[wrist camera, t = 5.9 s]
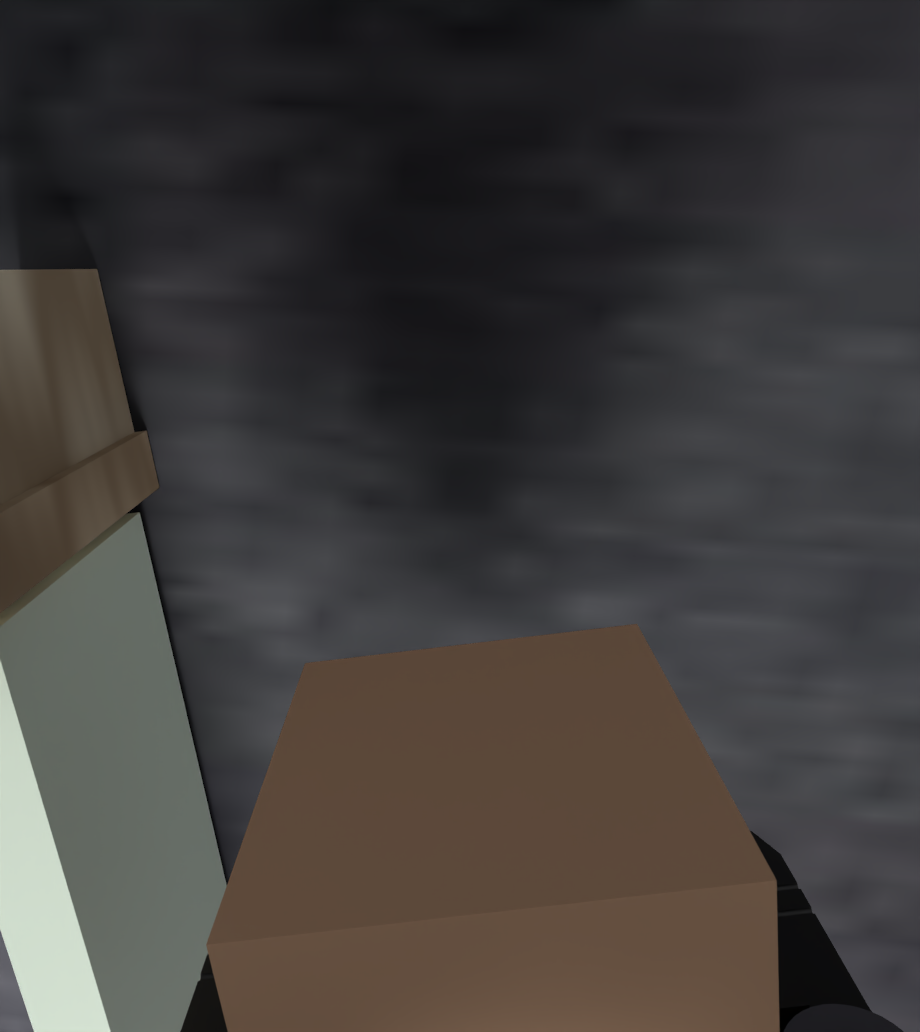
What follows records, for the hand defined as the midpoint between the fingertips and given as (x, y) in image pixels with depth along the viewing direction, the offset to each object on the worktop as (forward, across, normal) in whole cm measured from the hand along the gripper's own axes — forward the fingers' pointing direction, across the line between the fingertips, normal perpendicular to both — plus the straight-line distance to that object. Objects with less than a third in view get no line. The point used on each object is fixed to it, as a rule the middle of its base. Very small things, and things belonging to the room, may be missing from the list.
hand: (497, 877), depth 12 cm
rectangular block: (0, 0, 0) cm, 0 cm away
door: (+7, +8, +1) cm, 11 cm away
